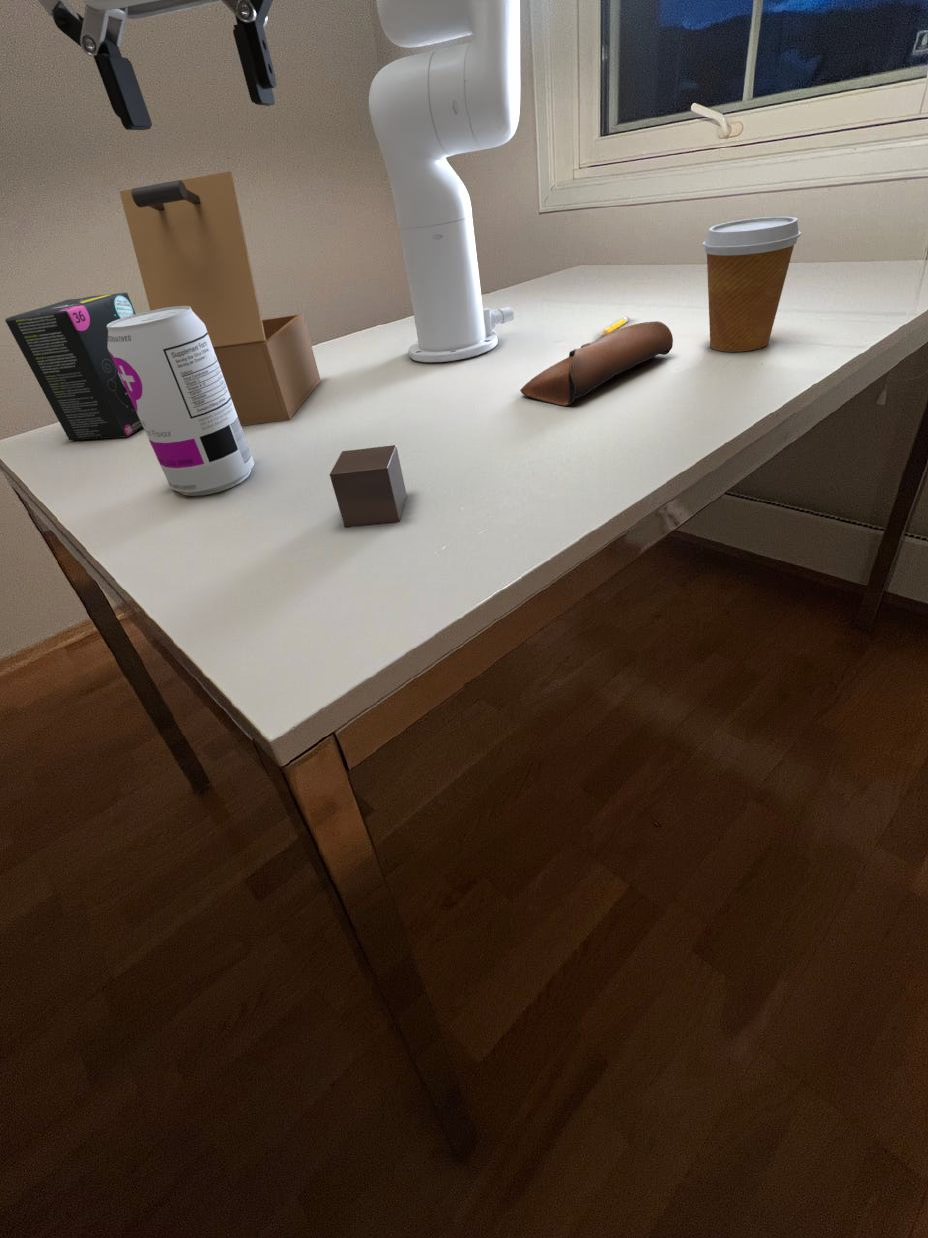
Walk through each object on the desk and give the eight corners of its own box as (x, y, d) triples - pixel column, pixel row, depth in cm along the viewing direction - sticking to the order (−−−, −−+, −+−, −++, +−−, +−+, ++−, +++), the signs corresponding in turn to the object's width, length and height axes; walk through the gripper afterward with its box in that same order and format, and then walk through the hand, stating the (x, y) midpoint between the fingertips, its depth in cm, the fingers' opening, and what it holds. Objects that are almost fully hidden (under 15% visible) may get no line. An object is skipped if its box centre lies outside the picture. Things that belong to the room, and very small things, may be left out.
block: (355, 501, 54) (342, 450, 51) (407, 495, 53) (396, 444, 50) (344, 526, 50) (329, 474, 47) (399, 521, 50) (387, 467, 47)
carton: (237, 391, 88) (214, 326, 83) (321, 380, 87) (302, 313, 82) (193, 431, 76) (163, 357, 71) (290, 419, 75) (266, 343, 69)
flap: (121, 192, 66) (91, 177, 61) (231, 172, 64) (208, 156, 60) (164, 354, 71) (138, 353, 67) (266, 340, 70) (247, 337, 65)
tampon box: (128, 438, 78) (67, 309, 69) (67, 442, 80) (0, 318, 71) (177, 407, 86) (128, 289, 78) (120, 412, 89) (67, 297, 80)
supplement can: (175, 507, 58) (96, 334, 49) (171, 477, 64) (101, 320, 56) (262, 482, 60) (201, 311, 51) (250, 455, 66) (194, 300, 58)
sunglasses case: (611, 346, 78) (636, 296, 72) (653, 381, 76) (682, 332, 71) (514, 392, 69) (534, 339, 64) (559, 433, 67) (583, 382, 62)
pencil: (629, 321, 89) (629, 316, 88) (602, 338, 84) (602, 333, 83) (624, 321, 89) (624, 316, 89) (597, 338, 84) (597, 333, 84)
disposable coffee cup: (678, 346, 76) (684, 231, 69) (742, 328, 78) (754, 214, 71) (735, 361, 69) (749, 234, 61) (804, 341, 71) (825, 215, 64)
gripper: (251, -280, 37) (329, 97, 47) (-9, -204, 39) (118, 138, 49) (198, -362, 31) (300, 90, 41) (-105, -266, 33) (62, 138, 43)
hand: (200, 116), depth 45 cm, fingers open, 9 cm apart
